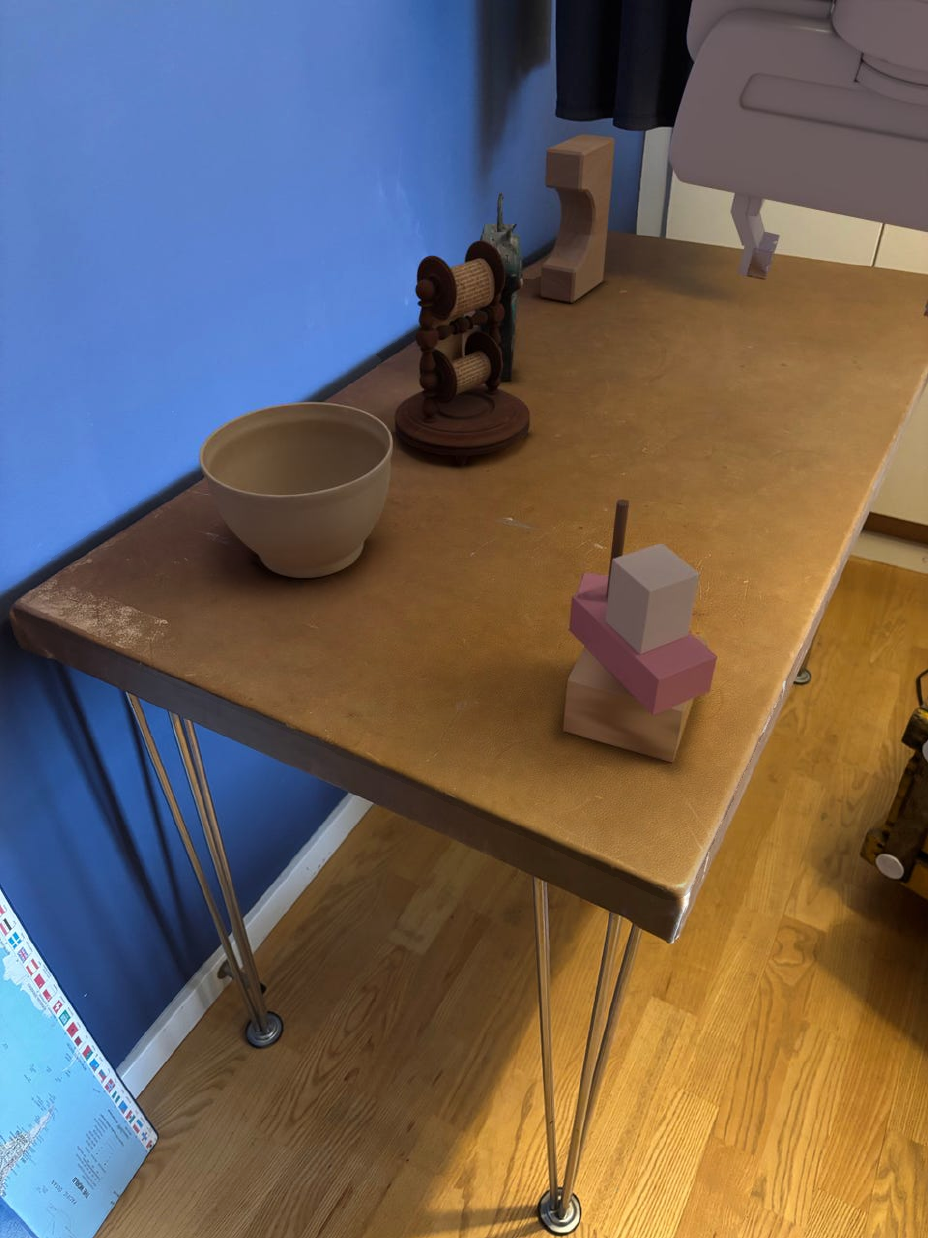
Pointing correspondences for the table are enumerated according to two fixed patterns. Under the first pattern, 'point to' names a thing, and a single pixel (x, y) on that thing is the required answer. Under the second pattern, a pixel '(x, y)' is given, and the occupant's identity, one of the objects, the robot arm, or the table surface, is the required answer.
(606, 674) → the birch block
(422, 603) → the table surface
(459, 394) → the scroll
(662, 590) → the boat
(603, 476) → the table surface
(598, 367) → the table surface
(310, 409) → the planter bowl
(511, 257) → the ceramic cat
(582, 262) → the decorative block
